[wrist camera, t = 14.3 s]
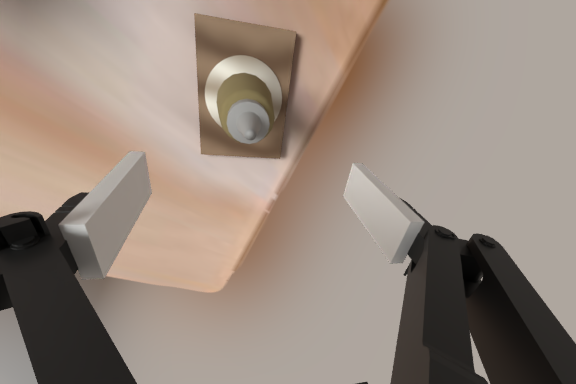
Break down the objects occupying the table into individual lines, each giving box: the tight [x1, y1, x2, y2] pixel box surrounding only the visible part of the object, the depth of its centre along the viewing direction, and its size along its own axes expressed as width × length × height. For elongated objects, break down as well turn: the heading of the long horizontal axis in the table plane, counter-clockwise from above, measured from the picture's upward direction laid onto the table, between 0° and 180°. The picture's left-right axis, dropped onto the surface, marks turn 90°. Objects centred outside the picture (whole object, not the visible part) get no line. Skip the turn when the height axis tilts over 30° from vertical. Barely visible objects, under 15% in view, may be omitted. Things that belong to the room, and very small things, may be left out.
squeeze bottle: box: [216, 73, 275, 144], centre depth 31 cm, size 8×8×18 cm
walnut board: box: [194, 13, 296, 159], centre depth 39 cm, size 20×14×2 cm
